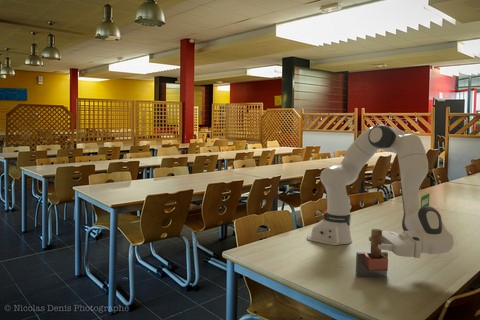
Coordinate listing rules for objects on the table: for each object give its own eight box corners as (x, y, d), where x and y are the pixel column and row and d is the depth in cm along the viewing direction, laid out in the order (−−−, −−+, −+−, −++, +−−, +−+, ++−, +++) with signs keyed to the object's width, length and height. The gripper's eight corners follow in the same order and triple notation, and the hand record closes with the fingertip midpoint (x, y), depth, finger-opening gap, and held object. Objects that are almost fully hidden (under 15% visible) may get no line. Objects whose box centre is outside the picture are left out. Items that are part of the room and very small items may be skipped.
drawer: (385, 275, 156) (386, 252, 155) (393, 283, 148) (394, 258, 147) (355, 275, 155) (356, 252, 155) (362, 283, 148) (363, 259, 147)
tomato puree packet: (426, 226, 228) (428, 193, 226) (428, 227, 227) (430, 193, 225) (418, 232, 217) (420, 196, 215) (420, 232, 216) (422, 197, 214)
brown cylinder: (369, 266, 150) (370, 230, 149) (370, 263, 153) (372, 228, 152) (379, 268, 148) (381, 232, 147) (380, 265, 152) (382, 229, 150)
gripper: (397, 227, 161) (364, 227, 160) (422, 242, 140) (384, 242, 140) (397, 242, 161) (363, 242, 161) (421, 259, 141) (383, 260, 140)
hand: (373, 242), depth 150 cm, fingers open, 8 cm apart
